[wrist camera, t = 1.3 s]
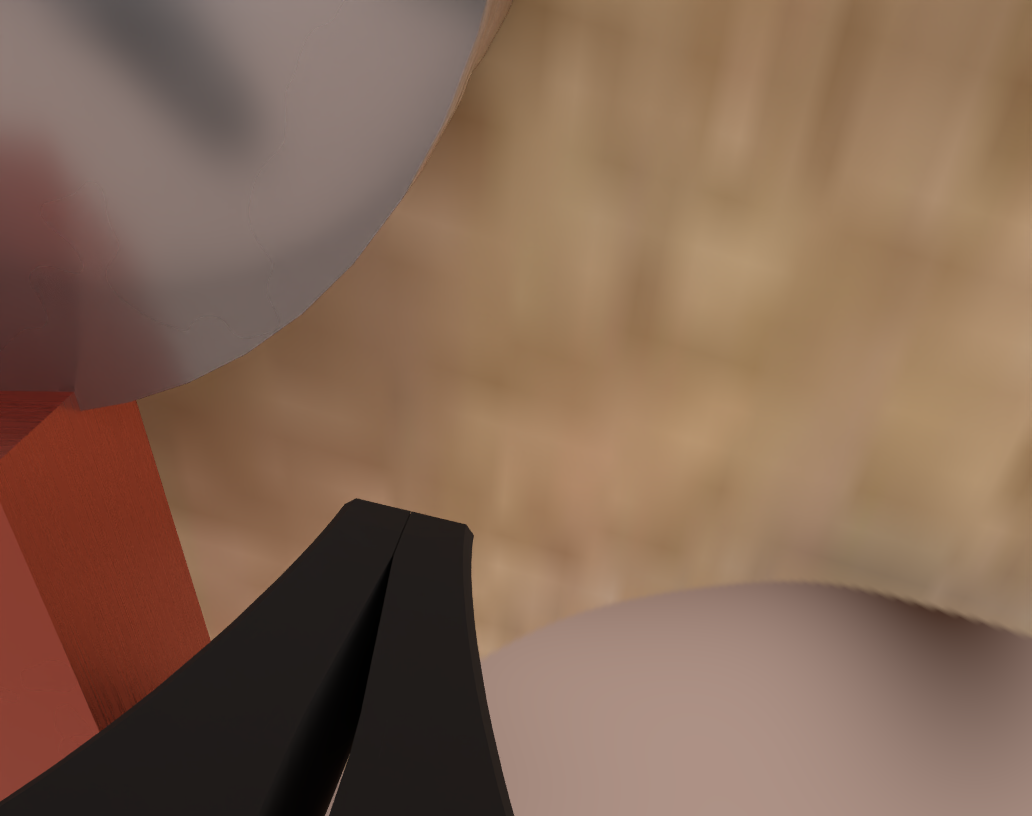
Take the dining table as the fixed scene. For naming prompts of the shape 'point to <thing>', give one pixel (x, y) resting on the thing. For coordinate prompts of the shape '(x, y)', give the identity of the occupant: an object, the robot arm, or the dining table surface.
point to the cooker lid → (168, 286)
